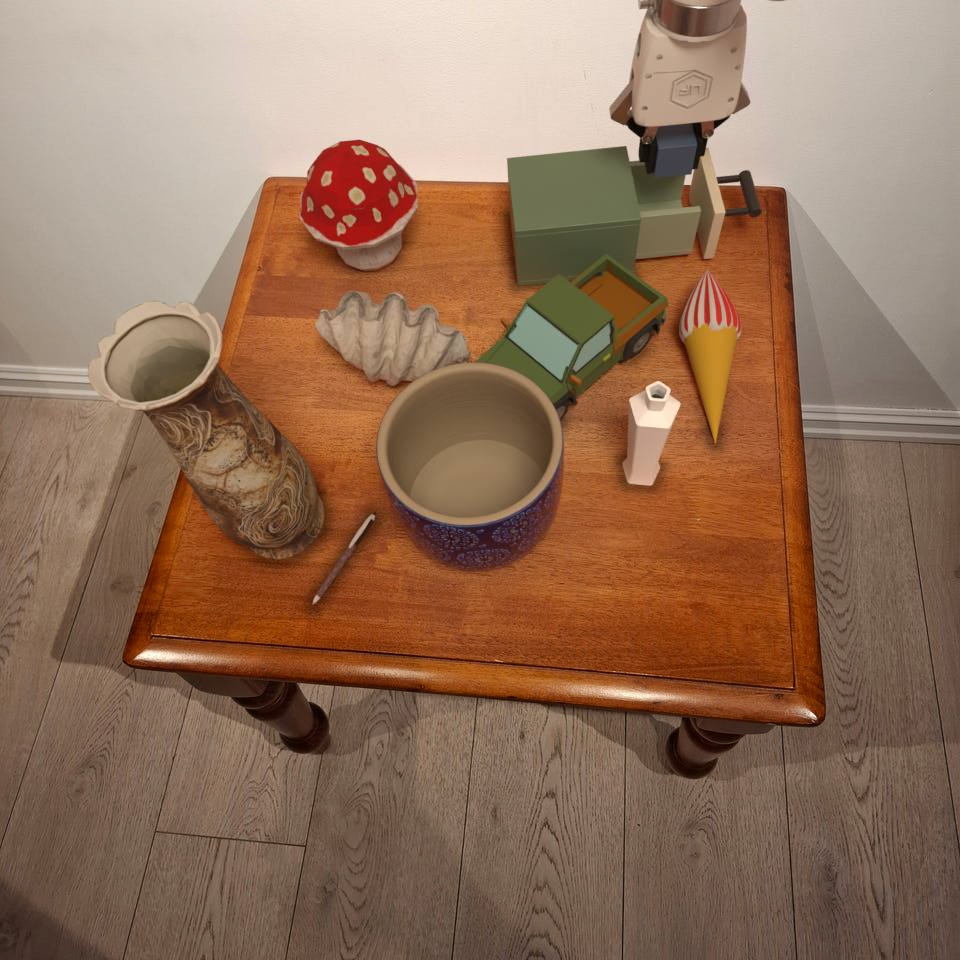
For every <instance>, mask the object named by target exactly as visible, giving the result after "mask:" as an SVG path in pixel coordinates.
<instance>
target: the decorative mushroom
mask: <svg viewBox="0 0 960 960" xmlns="http://www.w3.org/2000/svg"><path fill="white" fill-rule="evenodd" d="M299 197H300V198H299V217H298V218H299V220H300V221H301V222H302V224H303V225H304V226H305V227H306V230H308V231H309V233H310V234H311V235H312V237H313V238H314V239H315V240H316V241H318V242H320V243H324V244H325V245H329V246H331V247H334V248H336V252H337V254H338V255H339V256H340V258H341V259H342V261H344V263H345V264H346V265H348V266H349V267H352V268H354V269H357V270H360V271H362V272H374V271H380V270H382V269H384V268H386V267H387V266H389V265H391V264H392V262H394V260H395V259H396V257H397V256H398V254H399V252H400V251H401V250H402V248H403V234H402V233H403V231H404V230H405V228H406V227H407V226H408V224H409V222H410V221H411V220H412V219H413V217H414V215H415V214H416V212H417V210H418V208H419V204H418V203H419V202H418V201H419V200H418V183H417V181H416V180H415V179H414V178H413V177H412V176H411V175H410V174H409V172H407V170H406V169H405V168H404V167H403V166H402V164H400V163H398V162H397V161H396V160H395V159H394V158H393V156H392V155H391V154H390V153H389V151H387V149H386V148H384V147H382V146H380V145H378V144H375V143H372V142H369V141H365V140H362V139H351V140H340V141H337V142H336V143H334V144H332V145H330V146H328V147H326V148H324V149H322V150H321V152H320V154H318V156H317V157H316V159H315V160H314V161H313V162H312V164H310V166H309V168H308V170H307V173H306V184H305V187H304V188H303V190H302V191H301V193H300V196H299Z"/></svg>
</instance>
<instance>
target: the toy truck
mask: <svg viewBox="0 0 960 960" xmlns="http://www.w3.org/2000/svg"><path fill="white" fill-rule="evenodd" d="M668 300H669V299H668V297H667V296H666V295H664V294H663V293H661V292H660V291H659V290H658V289H656V288H654V287H653V286H652V285H650V284H649V283H648V282H646V281H645V280H643V279H642V278H641V277H639V276H638V275H637V274H635V272H634V273H632V272H631V271H630V270H628V269H627V268H625V267H624V266H623V265H621V264H620V263H619V262H617V261H616V260H614V259H613V258H612V257H610V256H609V255H607V254H605V255H604V256H602V257H601V258H600V259H599V260H597V261H596V262H595V263H594V264H592V265H591V266H590V267H589V268H588V269H586V270H585V271H584V272H583V273H581V274H580V275H579V276H578V277H576V278H575V279H574V280H573V281H568V280H566V279H565V278H564V277H563V276H561V275H560V274H558V275H557V276H556V277H555V278H553V279H552V280H551V281H550V282H548V283H546V284H544V285H543V286H542V287H541V288H539V289H538V290H537V291H536V292H535V293H533V294H532V295H531V296H530V297H528V298H527V299H526V300H525V302H524V304H523V305H522V307H521V308H520V309H519V311H518V313H517V314H516V315H515V317H514V319H513V320H512V322H511V323H510V322H509V321H508V319H507V318H506V317H504V316H502V317H500V323H501V325H502V326H503V328H504V329H505V330H506V331H505V332H504V334H503V335H502V337H500V339H498V340H497V342H495V343H494V344H493V345H492V346H491V347H490V348H488V349H487V350H486V351H485V352H484V353H482V355H480V357H478V358H477V359H476V360H475V361H474V362H480V363H490V364H495V365H500V366H503V367H506V368H509V369H512V370H514V371H516V372H519V373H520V374H522V375H524V376H526V377H527V378H529V379H530V380H532V381H533V382H534V383H536V384H537V385H538V386H539V387H540V388H541V389H542V390H543V391H544V392H545V393H546V395H547V396H548V397H549V398H550V400H551V401H552V403H553V405H554V406H555V408H556V410H557V412H558V415H559V418H560V421H561V422H562V420H563V419H564V417H565V416H566V414H567V412H568V410H569V408H570V404H572V406H575V407H576V406H577V404H578V403H579V402H578V400H577V398H578V397H579V396H580V395H581V394H583V393H584V392H585V391H586V390H587V389H589V387H591V386H592V385H593V384H594V383H595V382H596V381H598V380H599V379H600V378H601V377H602V376H603V375H604V374H606V373H607V372H608V371H609V370H610V369H611V368H613V367H614V366H615V365H616V364H617V363H619V362H620V361H622V362H627V361H629V359H632V358H635V357H636V356H638V355H639V354H640V353H641V352H642V351H644V349H645V348H646V346H647V345H648V344H649V342H650V340H651V338H653V337H652V336H653V333H655V334H656V335H659V333H660V330H661V328H660V327H661V325H662V326H664V324H665V323H666V320H667V311H666V309H667V308H668V307H669V301H668Z"/></svg>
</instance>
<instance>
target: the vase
mask: <svg viewBox="0 0 960 960" xmlns="http://www.w3.org/2000/svg"><path fill="white" fill-rule="evenodd" d="M96 346H97V350H98V356H99V357H97V358H95V359H92V360H90V362H89V363H88V365H87V377H88V380H89V383H90V386H91V387H92V389H94V391H95V392H96V393H97V394H98V395H99V396H100V397H102V398H104V399H106V400H108V401H110V402H112V403H114V404H116V405H117V406H118V408H120V409H126V410H131V411H132V410H133V411H140V412H141V411H142V412H143V414H144V415H145V416H146V417H147V418H148V420H149V421H150V422H151V424H152V425H153V427H154V428H155V429H156V431H157V432H158V434H159V436H160V437H161V439H162V440H163V441H164V443H165V445H166V447H167V448H168V449H169V451H170V453H171V454H172V456H173V458H174V460H175V462H176V463H177V464H178V466H179V468H180V470H181V471H182V473H183V475H184V476H185V478H186V480H187V482H188V483H189V485H190V487H191V489H192V490H193V492H194V494H195V496H196V497H197V499H198V501H199V503H200V504H201V506H202V507H203V509H204V511H205V513H206V514H207V516H209V518H210V519H211V521H212V522H213V523H214V524H215V525H216V527H218V529H219V530H220V531H222V533H224V534H225V535H226V536H227V537H229V538H230V539H231V540H233V541H234V542H236V543H238V544H240V545H242V546H244V547H246V548H249V550H251V551H252V552H254V554H257V555H259V556H260V557H263V558H266V559H269V560H270V559H271V560H284V559H290V558H291V557H292V558H293V557H295V556H297V555H299V554H300V553H303V552H304V551H305V550H306V549H308V548H309V547H310V546H311V544H313V542H314V541H315V540H316V539H317V538H318V536H319V534H320V533H321V530H322V528H323V526H324V520H325V517H326V516H325V508H324V507H325V506H324V503H323V501H322V499H321V497H320V496H319V494H318V489H317V488H318V487H317V484H316V479H315V476H314V474H313V472H312V470H311V468H310V466H309V464H308V463H307V461H306V460H305V458H304V457H303V455H302V454H301V452H300V451H299V450H298V448H297V447H296V446H295V445H294V444H293V443H292V442H291V440H289V439H288V438H287V437H286V435H284V434H283V432H281V430H279V429H278V427H277V426H275V424H273V422H272V421H271V420H269V418H268V417H266V415H265V414H264V413H263V412H262V411H260V409H259V408H258V407H256V405H255V404H254V403H253V402H252V401H251V400H250V399H249V398H248V397H247V396H246V395H245V394H244V392H242V390H241V389H240V388H239V387H238V386H237V385H236V383H234V382H233V380H232V379H231V378H230V377H229V376H228V375H227V373H226V372H225V371H224V370H223V368H221V366H220V365H219V361H220V356H221V353H222V348H223V332H222V327H221V325H220V323H219V321H218V320H217V318H216V317H215V316H214V315H213V313H211V312H209V311H205V312H200V311H199V309H197V308H196V306H195V305H194V304H193V303H192V302H190V301H187V300H186V301H180V302H179V303H178V304H177V305H176V306H171V305H169V304H168V303H166V302H163V301H159V300H152V301H148V302H144V303H140V304H139V305H136V306H134V307H132V308H130V309H128V310H126V311H125V312H124V313H122V315H120V317H118V318H117V320H116V321H115V323H114V328H113V333H112V334H109V335H106V336H103V337H102V338H101V340H99V342H98V343H97V345H96Z"/></svg>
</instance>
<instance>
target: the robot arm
mask: <svg viewBox="0 0 960 960" xmlns="http://www.w3.org/2000/svg"><path fill="white" fill-rule="evenodd" d="M768 1H769V2H784V1H786V0H768ZM741 2H742V0H637V7H638V10H646V11H645V14H644V16H643V19H642V22H641V24H640V29H639V32H638V36H637V40H636V43H635V46H634V52H633V57H632V62H631V67H630V72H629V81H628V84H627V85H626V86H625V87H624V89H622V91H621V92H620V94H619V95H618V96H617V97H616V98H615V100H614V101H613V102H612V103H611V104H610V106H609V108H608V111H609V116H610V119H611V120H612V122H613V121H614V122H615V123H618V124H620V125H622V126H626V127H627V129H628V130H630V132H632V133H633V134H634V135H636V136H637V137H638V138H639V143H638V153H637V155H638V161H640V163H641V162H644V163H645V167H646V172H647V174H652V172H654V166H655V160H656V153H657V139H656V132H657V130H658V127H659V126H667V125H677V124H687V123H692V126H693V130H694V134H695V138H696V141H697V149H696V154H695V159H694V164H693V169H692V170H694V169H698V164H699V160H700V157H701V156H704V155H705V150H706V148H707V144H708V141H709V139H710V138H711V137H712V136H714V134H715V130H716V129H718V127H720V126H721V125H722V124H724V123H725V122H726V121H728V120H730V117H731V115H735V114H737V113H738V112H740V111H742V110H744V109H745V108H747V107H749V106H750V104H751V99H750V95H749V92H748V90H747V88H746V87H745V85H744V84H743V81H742V79H743V72H744V64H745V58H746V57H745V56H746V55H745V54H746V46H747V35H748V34H747V32H748V19H747V13H746V12H745V9H744V8H743V5H742V4H741Z"/></svg>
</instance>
